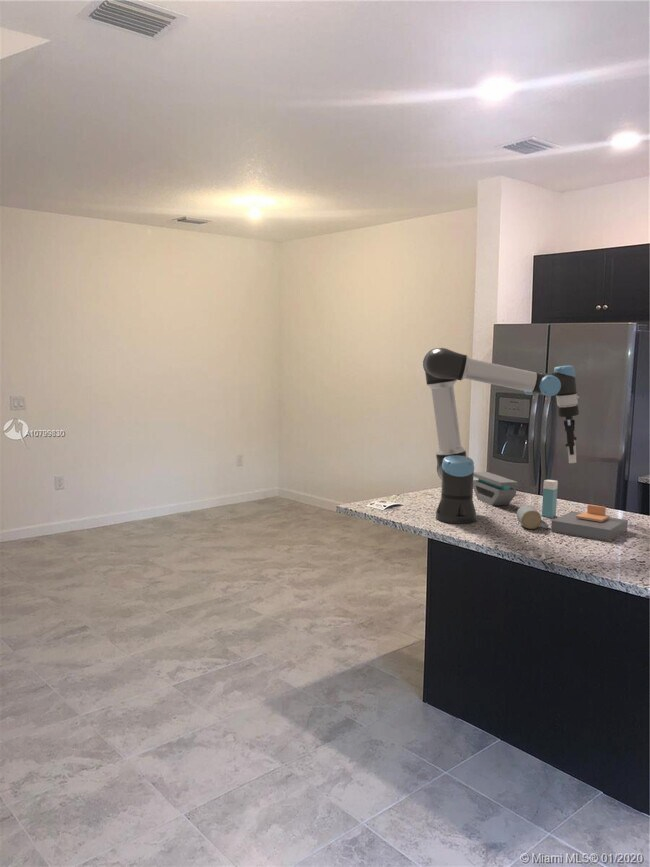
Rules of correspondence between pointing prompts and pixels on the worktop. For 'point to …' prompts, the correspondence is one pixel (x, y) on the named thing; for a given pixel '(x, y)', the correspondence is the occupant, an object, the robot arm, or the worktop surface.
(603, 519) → the terracotta shutter
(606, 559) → the worktop surface
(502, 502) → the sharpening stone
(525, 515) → the ceramic mug
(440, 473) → the robot arm
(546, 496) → the teal plug
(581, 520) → the socket block
